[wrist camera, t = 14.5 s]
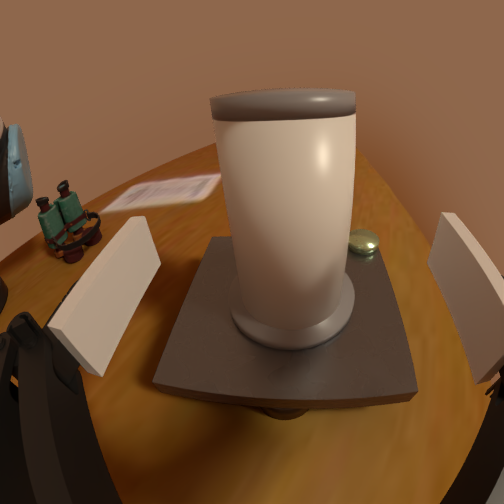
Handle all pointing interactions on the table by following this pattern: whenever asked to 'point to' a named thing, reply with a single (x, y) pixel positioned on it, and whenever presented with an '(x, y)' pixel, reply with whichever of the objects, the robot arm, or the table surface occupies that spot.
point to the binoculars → (67, 224)
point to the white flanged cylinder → (288, 210)
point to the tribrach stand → (289, 361)
